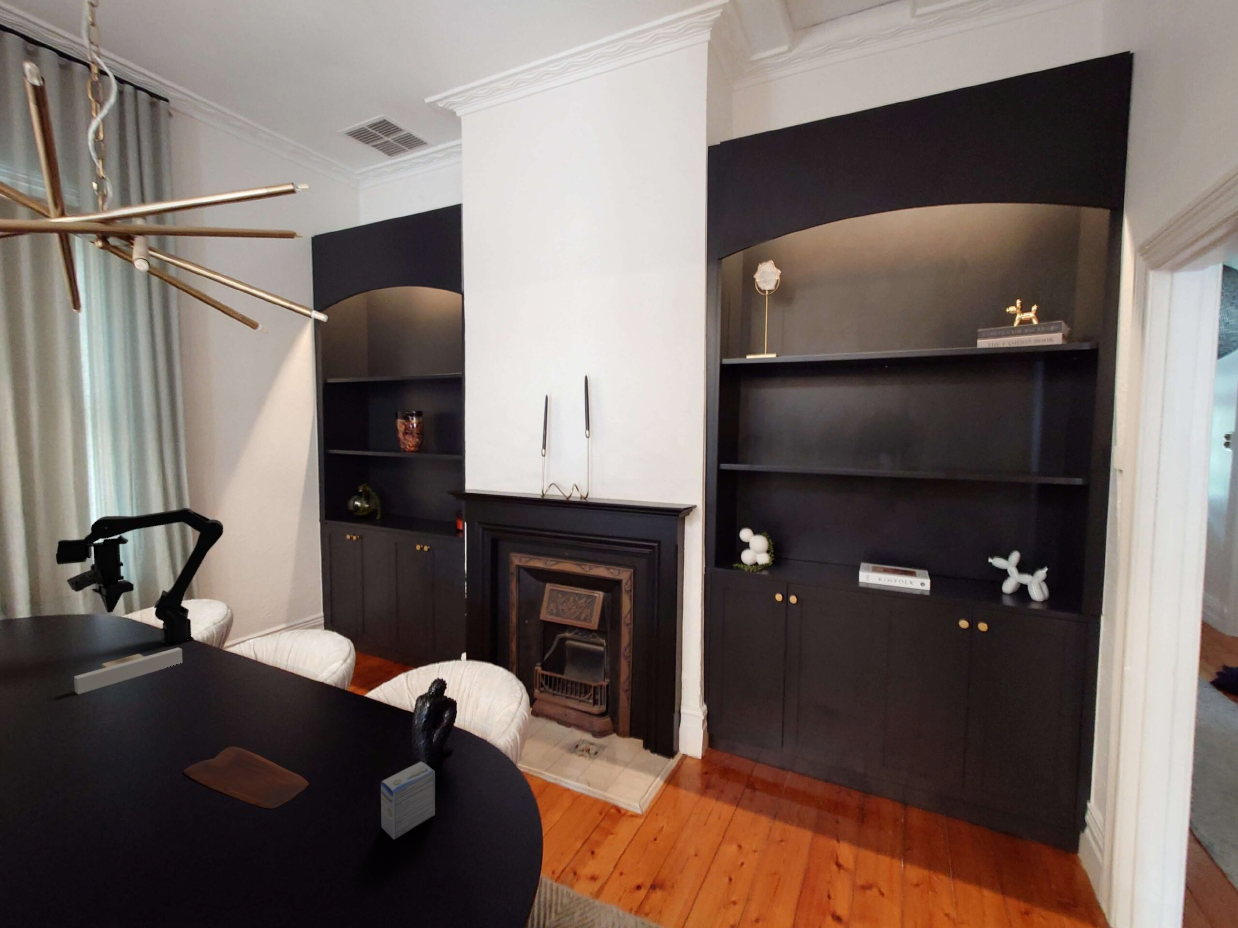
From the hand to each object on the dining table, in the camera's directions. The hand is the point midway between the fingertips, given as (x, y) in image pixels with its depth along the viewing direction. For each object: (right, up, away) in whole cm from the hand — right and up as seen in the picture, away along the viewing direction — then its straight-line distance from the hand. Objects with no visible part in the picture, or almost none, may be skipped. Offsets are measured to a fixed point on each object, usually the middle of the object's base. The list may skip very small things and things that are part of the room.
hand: (109, 612), depth 165 cm
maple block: (+15, -14, -12) cm, 24 cm away
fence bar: (+19, -14, -14) cm, 27 cm away
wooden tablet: (+77, -19, -55) cm, 97 cm away
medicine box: (+113, -20, -67) cm, 133 cm away
